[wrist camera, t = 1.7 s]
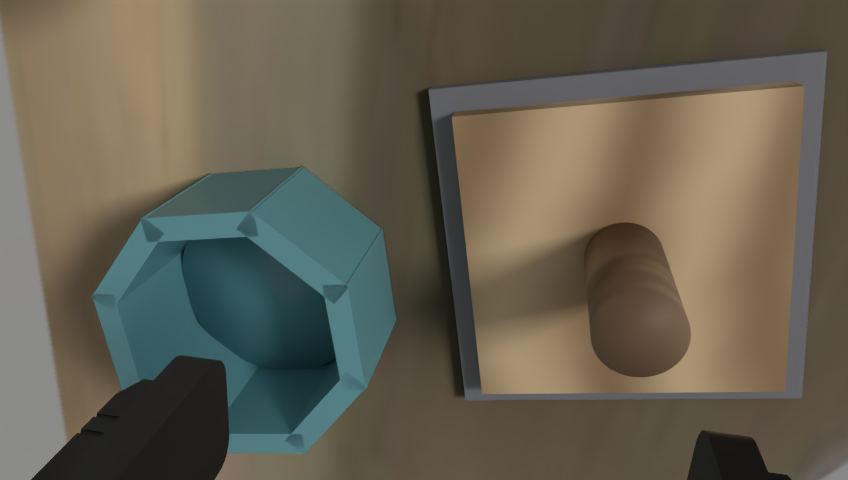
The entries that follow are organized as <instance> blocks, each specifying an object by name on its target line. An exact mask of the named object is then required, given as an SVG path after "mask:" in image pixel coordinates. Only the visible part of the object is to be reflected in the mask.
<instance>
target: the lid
mask: <svg viewBox="0 0 848 480" xmlns="http://www.w3.org/2000/svg"><path fill="white" fill-rule="evenodd" d="M803 102H804V85H802V84H800V83H798V82H796V81H794V82H783V83H772V84H761V85H750V86H738V87H727V88H716V89H705V90H693V91H682V92H671V93H660V94H648V95H637V96H626V97H615V98H604V99H592V100H581V101H570V102H559V103H547V104H536V105H525V106H514V107H502V108H491V109H480V110H469V111H457V112H455V113H454V114H453V116H452V124H453V133H454V142H455V151H456V160H457V169H458V179H459V188H460V197H461V206H462V215H463V224H464V233H465V242H466V251H467V260H468V270H469V279H470V288H471V297H472V306H473V315H474V324H475V333H476V342H477V351H478V361H479V370H480V379H481V388H482V394H561V393H685V392H785V386H786V370H787V354H788V339H789V323H790V307H791V291H792V276H793V260H794V244H795V228H796V212H797V197H798V181H799V165H800V149H801V134H802V118H803Z"/></svg>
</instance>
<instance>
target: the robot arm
mask: <svg viewBox="0 0 848 480" xmlns="http://www.w3.org/2000/svg"><path fill="white" fill-rule="evenodd" d="M228 445H229V416H228V398H227V380H226V369H225V366H224V363H223V362H222V361H220V360H213V359H206V358H199V357H192V356H185V355H178V356H176V357H175V358H174V359H173V360H172V361H171V362H170V363H169V364H168V365H167V366H166V367H165V368H164V369H163V370H162V372H161V373H160V374H159V375H158V376H157V377H156V378H155V379H154V380H149V379H143V380H141V381H139V382H137V383H135V384H133V385H132V386H130V387H128V388H126V389H124V390H122V391H121V392H119V393H117V394H116V395H115V396H114V397H113V398H112V399H111V400H110V401H109V402H108V403H107V404H106V405H105V406H104V407H103V408H102V409H101V410H100V411H99V412H98V413H97V416H96V417H93V418H92V419H91V420H90V421H89V422H88V423H87V424H86V425H85V426H84V427H83V428H82V429H81V433H80V434H79V433H77V434H76V435H75V436H74V437H73V438H72V439H71V440H70V441H69V442H68V443H67V444H66V445H65V446H64V447H63V448H62V449H61V450H60V451H59V452H58V453H57V454H56V455H55V456H54V457H53V458H52V459H51V460H50V461H49V462H48V463H47V464H46V465H45V466H44V467H43V468H42V469H41V470H40V471H39V472H38V473H37V474H36V475H35V476H34V477H33V478H32V479H31V480H214V479H215V478H216V476H217V475H218V473H219V471H220V470H221V468H222V466H223V463H224V461H225V458H226V454H227V450H228ZM687 480H791V479H790V478H789V477H788V476H787V475H783V474H776V473H769V472H768V471H767V468H766V466H765V464H764V461H763V459H762V456H761V454H760V452H759V449H758V447H757V444H756V442H755V440H754V439H753V438H751V437H746V436H739V435H732V434H725V433H718V432H711V431H704V430H703V431H701V432H700V434H699V436H698V438H697V441H696V445H695V449H694V453H693V457H692V461H691V466H690V470H689V474H688V478H687Z"/></svg>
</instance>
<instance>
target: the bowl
mask: <svg viewBox="0 0 848 480" xmlns="http://www.w3.org/2000/svg"><path fill="white" fill-rule="evenodd" d="M140 219H141V221H140V222H139V224H138V225H137V227H136V229H135V230H134V232H133V233H132V235H131V236H130V238H129V239H128V241H127V243H126V244H125V246H124V247H123V249H122V250H121V252H120V254H119V255H118V257H117V258H116V260H115V261H114V263H113V264H112V266H111V268H110V269H109V271H108V272H107V274H106V275H105V277H104V279H103V280H102V282H101V283H100V285H99V286H98V288H97V289H96V291H95V293H93V294H92V297H91V298H93V301H94V304H95V307H96V310H97V313H98V316H99V320H100V323H101V326H102V329H103V332H104V335H105V339H106V342H107V345H108V348H109V351H110V354H111V358H112V361H113V364H114V367H115V370H116V373H117V377H118V380H119V383H120V386H121V390H124V389H126V388H128V387H130V386H132V385H133V384H135V383H137V382H139V381H141V380H143V379H149V380H154V379H155V378H156V377H157V376H158V375H159V374H160V373H161V372H162V370H163V369H164V368H165V367H166V366H167V365H168V364H169V363H170V362H171V361H172V360H173V359H174V358H175V357H176V356H178V355H185V356H192V357H199V358H206V359H213V360H220V361H222V362H223V363H224V366H225V369H226V380H227V398H228V416H229V445H228V450H227V453H302V454H306V453H307V451H308V449H309V448H310V447H311V446H312V445H313V444H314V443H315V442H316V441H317V440H318V439H319V437H320V436H321V435H322V434H323V433H324V432H325V431H326V430H327V429H328V428H329V427H330V426H331V425H332V424H333V423H334V421H335V420H336V419H337V418H338V417H339V416H340V415H341V414H342V413H343V412H344V411H345V410H346V409H347V408H348V406H349V405H350V404H351V403H352V402H353V401H354V400H355V399H356V398H357V397H358V396H359V395H360V394H361V393H362V392H363V390H366V388H367V386H368V384H369V381H370V379H371V377H372V374H373V372H374V370H375V368H376V365H377V363H378V361H379V358H380V356H381V354H382V352H383V349H384V347H385V345H386V342H387V340H388V338H389V336H390V333H391V331H392V329H393V326H394V324H395V322H396V319H397V317H396V314H395V308H394V301H393V295H392V288H391V282H390V275H389V269H388V262H387V255H386V249H385V242H384V236H383V229H382V228H380V227H378V226H377V225H376V224H375V223H373V222H372V221H371V220H369V219H368V218H367V217H366V216H364V215H363V214H362V213H361V212H359V211H358V210H357V209H356V208H354V207H353V206H352V205H351V204H349V203H348V202H347V201H346V200H344V199H343V198H342V197H340V196H339V195H338V194H337V193H335V192H334V191H333V190H332V189H330V188H329V187H328V186H327V185H325V184H324V183H323V182H322V181H320V180H319V179H318V178H317V177H315V176H314V175H313V174H311V173H310V172H309V171H308V170H306V169H305V167H303V166H302V167H298V168H284V169H271V170H258V171H245V172H232V173H219V174H212V173H211V174H209V175H207V176H206V177H204V178H203V179H201V180H199V181H198V182H196V183H195V184H193V185H192V186H190V187H189V188H187V189H185V190H184V191H182V192H181V193H179V194H178V195H176V196H175V197H173V198H171V199H170V200H168V201H167V202H165V203H164V204H162V205H161V206H159V207H157V208H156V209H154V210H153V211H151V212H150V213H148V214H147V215H145V216H143V217H142V218H140Z"/></svg>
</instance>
